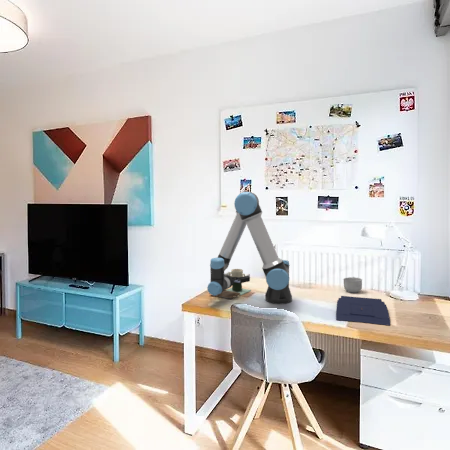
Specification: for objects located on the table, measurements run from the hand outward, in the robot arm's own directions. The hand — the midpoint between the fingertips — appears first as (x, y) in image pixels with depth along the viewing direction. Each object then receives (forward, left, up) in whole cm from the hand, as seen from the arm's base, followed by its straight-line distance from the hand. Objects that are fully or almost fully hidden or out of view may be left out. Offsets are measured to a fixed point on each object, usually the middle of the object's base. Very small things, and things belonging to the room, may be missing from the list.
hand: (239, 274), depth 227 cm
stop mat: (-1, +3, -10) cm, 10 cm away
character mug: (-1, +3, -9) cm, 10 cm away
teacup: (-60, -37, -10) cm, 71 cm away
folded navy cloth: (-74, +2, -10) cm, 75 cm away
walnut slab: (0, +15, -10) cm, 18 cm away
